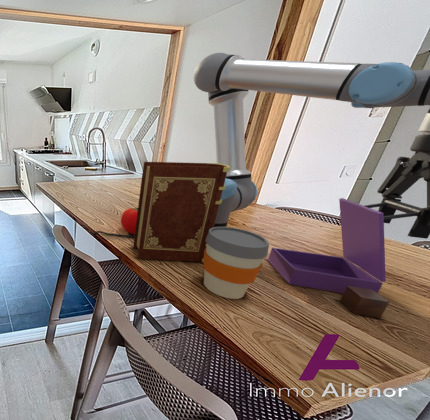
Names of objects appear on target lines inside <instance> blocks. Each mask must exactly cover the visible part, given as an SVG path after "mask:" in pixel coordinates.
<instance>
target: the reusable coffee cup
mask: <svg viewBox="0 0 430 420" xmlns="http://www.w3.org/2000/svg"><path fill="white" fill-rule="evenodd" d="M206 243H207V246H206V248H205V250H204V261H203V262H202V263H203V265H202V266H203V269H204V275H203V276H204V277H203V285H204V287H206V289H207V290H208V291H210V292H211V293H213V294H215V295H217V296H219V297H222V298H226V299H231V300H239V299H241V298H243V297H244V296H245V294H246V292H247V291H248V288H249V286H250V284H253V282H255V280H256V278H257V277H258V274H259V273H260V271H261V269H262V267H263V260H264V259H265V258H267V256H268V253H269V247H270V242H269V240H268V239H267V238H265V237H264V236H262V235H260V234H257V233H255V232H252V231H249V230H246V229H242V228H237V227H231V226H227V227H213V228H211V229H210V230H209V232H208V235H207V237H206Z"/></svg>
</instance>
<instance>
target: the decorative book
mask: <svg viewBox="0 0 430 420" xmlns="http://www.w3.org/2000/svg"><path fill="white" fill-rule="evenodd" d="M229 170H230V166H228V165H224V164H218V163H217V162H209V163H208V162H179V161H177V162H171V161H143V167H142V174H141V181H140V189H139V197H138V206H137V208H138V212H137V220H136V228H135V234H134V235H133V236H134V237H133V245H132V248H133V249H138V251H137V252H138V253H137V259H145V260H157V261H158V260H159V261H176V262H177V261H179V262H200V263H203V261H204V250H205V248H206V246H207V243H206V237H207V235H208V232H209V230H210V229H211V228H213V227H214V224H215V220H216V216H217V212H218V208H219V204H221V202H222V200H221V195H222V191H223V190H225V185H224V183H225V179H226V175H227V172H229Z"/></svg>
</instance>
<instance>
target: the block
mask: <svg viewBox="0 0 430 420" xmlns="http://www.w3.org/2000/svg"><path fill="white" fill-rule="evenodd" d="M339 302H340V303H342V304H343V305H344V306H345V307H346V308H347V309H348V310H349V311H350V312H351V313H353V314H355V315H359V316H366V317H370V318H375V319H381V317H382V316H383V314H384V313H385V310H386V309H387V307H388V305H389V304H390V301H388V300H387V299H386V298H384V297H383V296H382V295H380V294H379V293H376V292H375V291H373V290H370V289H364V288H358V287H352V286H347V287H346V290H345V292H344V293H342V296H341V298H340V301H339Z"/></svg>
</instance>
